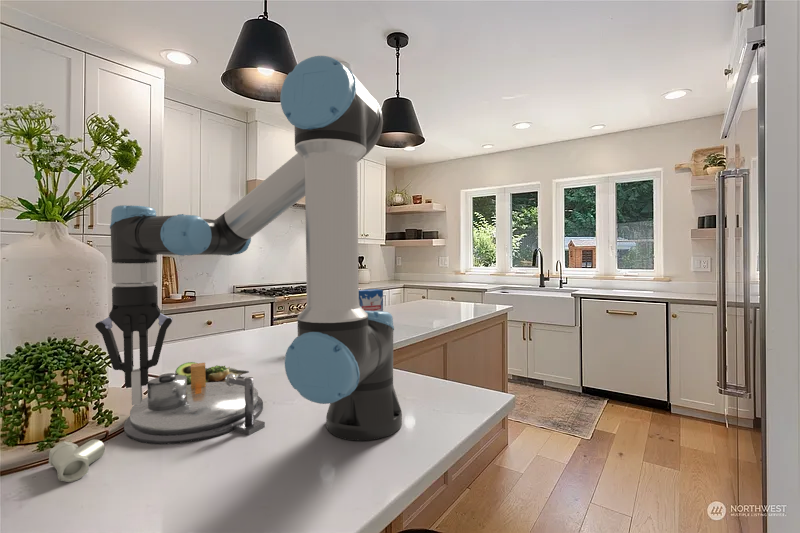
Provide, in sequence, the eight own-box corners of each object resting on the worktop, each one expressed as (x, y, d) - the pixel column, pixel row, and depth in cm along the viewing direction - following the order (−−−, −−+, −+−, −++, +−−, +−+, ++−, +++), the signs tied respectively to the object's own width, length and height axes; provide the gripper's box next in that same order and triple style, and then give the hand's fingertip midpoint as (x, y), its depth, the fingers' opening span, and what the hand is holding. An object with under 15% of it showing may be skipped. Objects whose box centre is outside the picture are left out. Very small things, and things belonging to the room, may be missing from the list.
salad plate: (251, 369, 119) (251, 354, 119) (245, 389, 102) (245, 371, 102) (180, 374, 114) (179, 359, 114) (160, 396, 97) (160, 377, 97)
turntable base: (271, 426, 79) (271, 421, 79) (111, 456, 67) (111, 450, 67) (255, 387, 102) (255, 383, 102) (134, 404, 90) (134, 400, 90)
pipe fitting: (99, 455, 69) (48, 468, 64) (101, 432, 69) (50, 443, 64) (113, 471, 64) (59, 487, 59) (115, 447, 64) (61, 460, 59)
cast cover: (186, 406, 80) (186, 377, 80) (145, 413, 77) (145, 382, 77) (187, 396, 87) (187, 368, 87) (149, 401, 84) (149, 373, 83)
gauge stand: (264, 426, 79) (264, 375, 79) (248, 435, 75) (248, 381, 75) (235, 419, 82) (234, 370, 82) (218, 426, 79) (218, 375, 79)
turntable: (265, 419, 79) (265, 384, 79) (119, 445, 68) (118, 405, 68) (251, 384, 101) (251, 356, 100) (139, 399, 90) (138, 369, 90)
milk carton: (360, 342, 155) (360, 291, 154) (354, 339, 160) (354, 289, 160) (383, 339, 160) (383, 290, 159) (376, 336, 165) (376, 288, 165)
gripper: (173, 282, 85) (175, 391, 86) (99, 284, 79) (101, 401, 80) (171, 284, 78) (173, 403, 79) (89, 287, 73) (92, 415, 73)
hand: (137, 402), depth 79 cm, fingers closed
